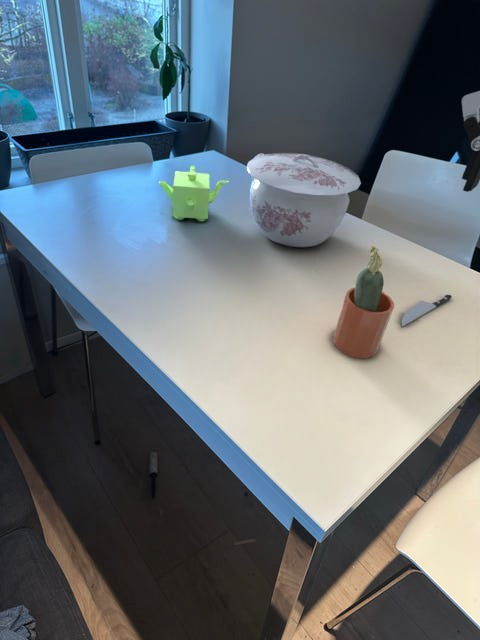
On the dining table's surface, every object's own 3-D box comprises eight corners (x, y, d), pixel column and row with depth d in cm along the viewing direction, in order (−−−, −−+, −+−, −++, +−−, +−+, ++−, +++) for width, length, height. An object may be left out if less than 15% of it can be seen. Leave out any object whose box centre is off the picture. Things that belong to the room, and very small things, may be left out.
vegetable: (370, 349, 81) (394, 258, 67) (346, 349, 81) (365, 258, 67) (366, 332, 84) (388, 242, 70) (343, 332, 84) (360, 242, 70)
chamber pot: (354, 265, 107) (379, 181, 94) (240, 256, 105) (250, 168, 92) (333, 216, 129) (351, 142, 117) (239, 208, 127) (246, 132, 115)
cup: (384, 343, 84) (401, 300, 78) (365, 365, 78) (382, 320, 72) (345, 324, 88) (359, 281, 82) (325, 343, 82) (337, 299, 76)
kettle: (191, 199, 129) (193, 160, 122) (228, 216, 122) (232, 175, 116) (151, 212, 119) (151, 170, 112) (189, 231, 112) (191, 188, 106)
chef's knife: (389, 320, 90) (401, 327, 88) (390, 316, 90) (403, 323, 88) (439, 293, 101) (452, 299, 99) (441, 288, 100) (453, 294, 98)
